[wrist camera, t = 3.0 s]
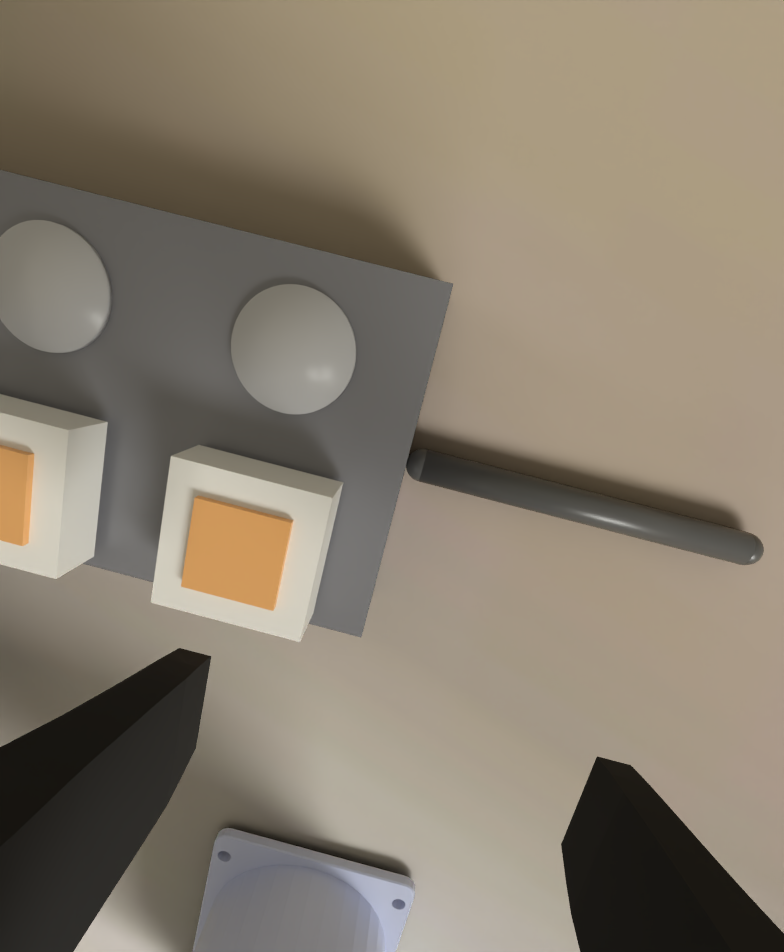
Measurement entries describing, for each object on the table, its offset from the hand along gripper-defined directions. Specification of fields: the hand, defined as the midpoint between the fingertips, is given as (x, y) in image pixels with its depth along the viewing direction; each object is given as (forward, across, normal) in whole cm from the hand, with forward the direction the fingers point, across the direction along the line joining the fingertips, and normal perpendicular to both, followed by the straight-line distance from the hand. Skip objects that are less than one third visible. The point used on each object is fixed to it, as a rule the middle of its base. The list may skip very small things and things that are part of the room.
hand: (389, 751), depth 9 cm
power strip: (+8, +6, -4) cm, 10 cm away
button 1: (+5, +4, -1) cm, 7 cm away
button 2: (+5, +11, -1) cm, 12 cm away
